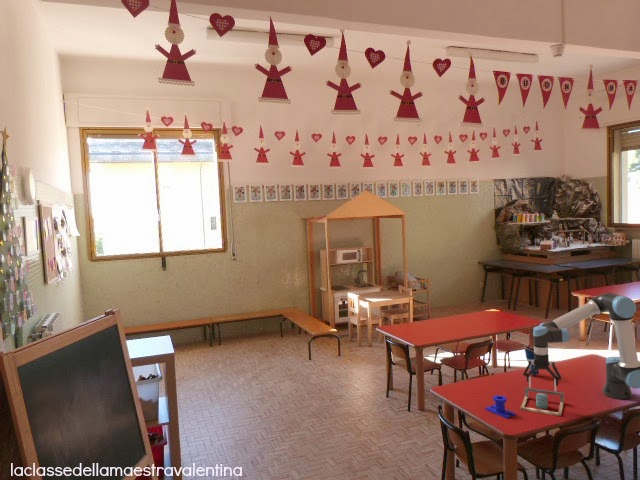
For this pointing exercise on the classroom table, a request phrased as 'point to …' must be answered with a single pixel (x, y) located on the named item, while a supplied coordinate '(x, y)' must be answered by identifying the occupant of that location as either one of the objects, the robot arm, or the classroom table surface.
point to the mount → (500, 407)
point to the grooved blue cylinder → (541, 401)
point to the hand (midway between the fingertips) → (542, 389)
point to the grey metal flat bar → (545, 392)
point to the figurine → (530, 356)
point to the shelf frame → (541, 410)
